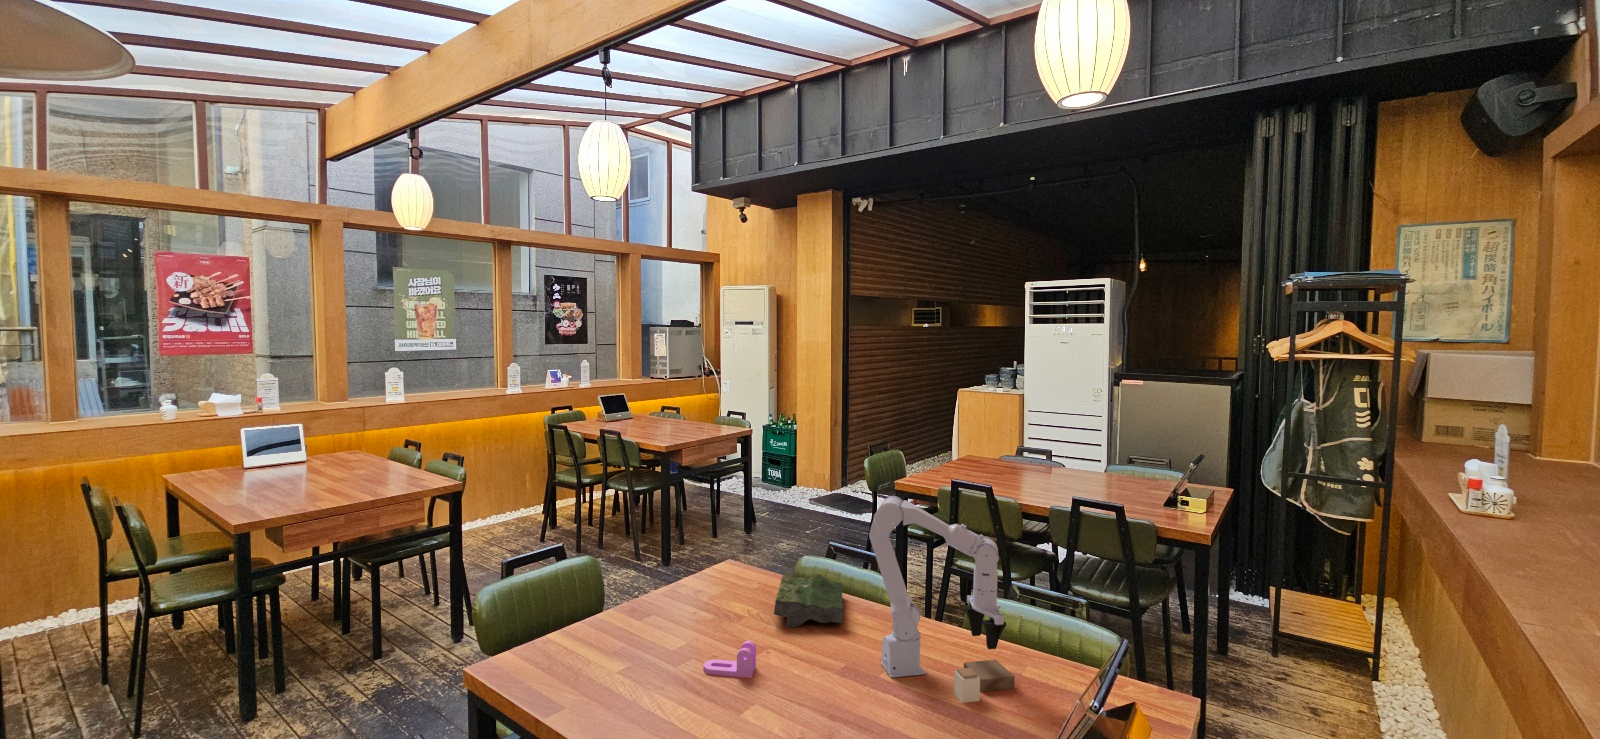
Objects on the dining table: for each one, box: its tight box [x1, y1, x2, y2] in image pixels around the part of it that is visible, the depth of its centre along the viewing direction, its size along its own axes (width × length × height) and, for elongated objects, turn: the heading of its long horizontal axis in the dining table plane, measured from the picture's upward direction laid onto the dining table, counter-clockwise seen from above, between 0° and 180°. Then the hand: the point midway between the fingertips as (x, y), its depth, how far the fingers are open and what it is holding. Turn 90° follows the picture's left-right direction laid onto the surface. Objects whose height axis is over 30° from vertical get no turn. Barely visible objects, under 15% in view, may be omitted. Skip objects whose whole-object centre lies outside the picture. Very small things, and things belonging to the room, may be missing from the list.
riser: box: [963, 659, 1016, 693], centre depth 164 cm, size 9×9×3 cm
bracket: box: [703, 640, 757, 679], centre depth 167 cm, size 13×6×7 cm, turn 82°
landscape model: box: [773, 573, 844, 629], centre depth 207 cm, size 26×20×10 cm
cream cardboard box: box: [953, 667, 981, 704], centre depth 156 cm, size 4×4×6 cm
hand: (983, 641), depth 164 cm, fingers open, 7 cm apart
